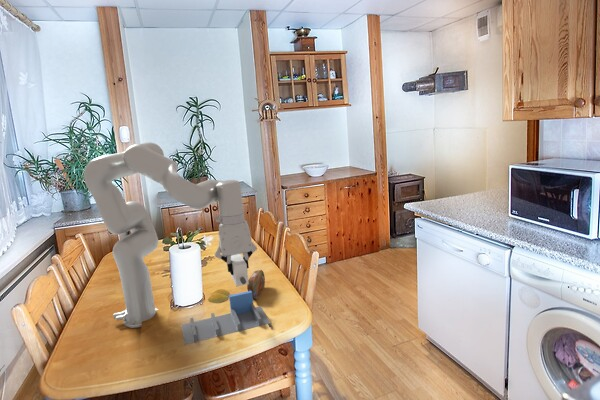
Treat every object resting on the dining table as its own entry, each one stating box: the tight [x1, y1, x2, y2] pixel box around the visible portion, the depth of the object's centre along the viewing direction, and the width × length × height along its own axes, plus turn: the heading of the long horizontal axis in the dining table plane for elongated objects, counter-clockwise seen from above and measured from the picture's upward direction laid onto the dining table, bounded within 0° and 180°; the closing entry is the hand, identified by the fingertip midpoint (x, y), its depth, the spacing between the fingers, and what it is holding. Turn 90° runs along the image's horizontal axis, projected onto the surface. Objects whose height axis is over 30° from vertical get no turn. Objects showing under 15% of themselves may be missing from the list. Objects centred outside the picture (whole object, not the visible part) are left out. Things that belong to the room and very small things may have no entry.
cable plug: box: [230, 254, 249, 287], centre depth 128 cm, size 4×14×7 cm, turn 20°
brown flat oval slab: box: [246, 269, 266, 300], centre depth 156 cm, size 15×3×8 cm, turn 168°
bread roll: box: [207, 288, 231, 304], centre depth 152 cm, size 8×9×4 cm
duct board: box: [181, 290, 272, 346], centre depth 132 cm, size 28×13×8 cm, turn 110°
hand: (238, 271), depth 130 cm, fingers closed on cable plug, 4 cm apart
